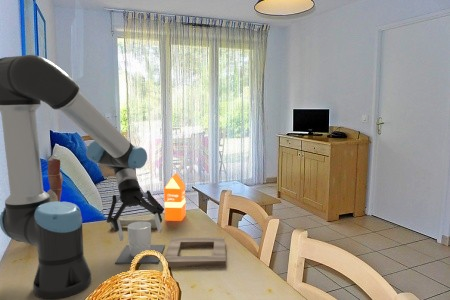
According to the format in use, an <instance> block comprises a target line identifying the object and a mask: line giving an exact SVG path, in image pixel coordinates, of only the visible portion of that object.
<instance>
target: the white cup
mask: <svg viewBox="0 0 450 300" xmlns="http://www.w3.org/2000/svg"><path fill="white" fill-rule="evenodd" d="M126 228H127V237H128V238H127V239H128V245H129V247H130V254H131V256H133V257H135V256H136V255H137V254H139V253H140V252H142V251H145V250H150V245H152V244H151V243H152V241H151V240H152V228H151V223H149V222H143V221H141V222H134V223H131V224H129V225H128V226H126Z"/></svg>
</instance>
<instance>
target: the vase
mask: <svg viewBox="0 0 450 300" xmlns="http://www.w3.org/2000/svg"><path fill="white" fill-rule="evenodd" d="M47 177H48V184H49V190H47V192H46V193H48V194H49V197H50V202H56V201H60V202H61V197H62V190H63V186H62V184H63V181H64V177H63V175H62V172H61V159H60V158H59V159H57V158H48V160H47Z"/></svg>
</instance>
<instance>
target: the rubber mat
mask: <svg viewBox="0 0 450 300" xmlns="http://www.w3.org/2000/svg"><path fill="white" fill-rule="evenodd" d="M164 249H165V244H151V245H150V250H155V251H158V252H160V253H161V254H162V255H163V253H164V252H163V251H164ZM133 259H134V257H133V256H131V254H130V247H129V244H127V245H125V247H124V248H123V249H122V251H121V252H120V254H119V256H118V257H117V258H116V260H115V262H114V265H132V264H131V262H132V260H133ZM139 263H140V264H141V265H143V264H144V265H151V264H159V263H160V260H159V259H158V258H156V257H154V256H145V257H143V258H142V259H141V260H140V261H139Z"/></svg>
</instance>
